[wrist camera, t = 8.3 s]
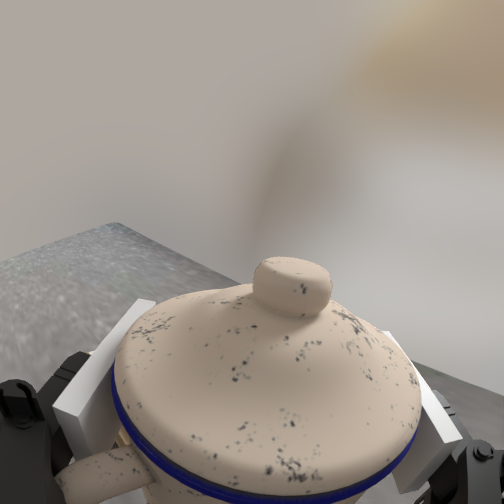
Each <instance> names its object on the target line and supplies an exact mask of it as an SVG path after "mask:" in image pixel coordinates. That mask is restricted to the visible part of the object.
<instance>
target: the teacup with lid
mask: <svg viewBox="0 0 504 504" xmlns="http://www.w3.org/2000/svg"><path fill="white" fill-rule="evenodd" d="M332 289H333V283H332V279H331V277H330V275H329V273H328V272H327V271H326V270H325V269H324V268H322V267H321V266H319V265H317V264H314V263H312V262H309V261H305V260H302V259H297V258H290V257H272V258H268V259H266V260H264V261H263V262H262V263H260V264H259V265H258V267H257V268H256V270H255V273H254V279H253V283H252V284H244V285H238V286H234V287H230V288H226V289H215V290H205V291H199V292H194V293H189V294H185V295H181V296H178V297H175V298H172V299H169V300H167V301H164V302H162V303H160V304H158V305H156V306H154V307H152V308H151V309H149V310H148V311H146V312H145V313H144V314H143V315H141V316H140V317H139V318H138V319H137V320H136V321H135V322H134V323H133V324H132V325H131V326H130V328H129V329H128V331H127V332H126V334H125V335H124V337H123V338H122V340H121V342H120V344H119V347H118V350H117V353H116V356H115V359H114V363H113V366H112V373H111V391H112V397H113V401H114V405H115V408H116V411H117V414H118V416H119V419H120V421H121V423H122V424H123V426H124V428H125V430H126V432H127V433H128V435H129V438H130V443H131V444H129V445H126V446H122V447H119V448H115V449H112V450H108V451H105V452H101V453H98V454H95V455H92V456H89V457H86V458H83V459H81V460H78V461H76V462H74V463H72V464H70V465H69V466H67V467H66V468H64V469H63V470H61V471H60V472H59V473H58V474H57V475H56V476H55V477H54V479H55V481H56V483H57V484H58V486H59V487H60V488H61V490H62V491H63V493H64V497H65V501H66V504H98V503H100V502H103V501H105V500H107V499H110V498H112V497H115V496H118V495H121V494H123V493H126V492H129V491H132V490H135V489H138V488H141V487H142V489H143V492H144V496H145V499H146V502H147V504H354V503H355V502H356V501H357V500H358V499H359V498H360V497H361V496H362V495H363V493H364V492H365V491H366V490H367V489H368V488H370V487H372V486H373V485H375V484H377V483H378V482H379V481H381V480H382V479H383V478H385V477H386V476H387V475H388V474H389V473H391V472H392V471H393V469H394V468H395V467H396V466H397V465H398V464H399V463H400V462H401V461H402V459H403V458H404V457H405V455H406V454H407V452H408V451H409V449H410V447H411V445H412V443H413V441H414V439H415V436H416V433H417V430H418V425H419V420H420V415H421V408H422V399H421V389H420V384H419V380H418V377H417V374H416V372H415V370H414V368H413V366H412V364H411V362H410V361H409V359H408V358H407V356H406V355H405V354H404V352H403V351H402V350H401V349H400V348H399V347H398V346H397V345H396V343H394V342H393V341H392V340H391V339H390V338H389V337H388V336H387V335H385V334H384V333H383V332H381V331H380V330H378V329H377V328H375V327H374V326H372V325H371V324H369V323H368V322H366V321H364V320H362V319H360V318H359V317H356V316H354V315H353V314H351V313H350V312H349V311H348V310H346V309H345V308H344V307H343V306H341V305H340V304H338V303H336V302H335V301H333V300H331V299H330V297H331V293H332Z"/></svg>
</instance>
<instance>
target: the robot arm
mask: <svg viewBox="0 0 504 504" xmlns="http://www.w3.org/2000/svg"><path fill="white" fill-rule="evenodd" d="M154 306H156V302H154V301H149V300H143V299H138V300H137V301H136V302H135V303H134V304H133V306H132V307H131V308H130V309H129V310H128V311H127V313H126V314H125V315H124V316H123V317H122V318H121V320H120V321H119V322H118V323H117V324H116V326H115V327H114V328H113V329H112V330H111V332H110V333H109V334H108V335H107V337H106V338H105V339H104V340H103V341H102V343H101V344H100V345H99V346H98V348H97V349H96V350H95V351H94V352H93V354H92V355H90V354H87V353H84V352H81V351H79V352H77V353H76V354H74V355H72V356H70V357H68V358H67V359H66V360H65V361H64V363H63V364H62V365H61V366H60V369H59V368H58V369H57V371H56V372H55V373H54V376H51V378H50V379H49V380H48V381H47V382H46V383H45V385H44V386H43V387H42V388H41V389H40V391H39V392H38V393H36V391H35V389H34V388H33V386H32V385H31V384H29V383H28V382H26V381H23V380H19V379H14V380H8V381H5V382H2V383H1V384H0V504H66V501H65V497H64V493H63V491H62V490H61V488H60V487H59V486H58V484H57V483H56V481H55V479H54V477H55V476H56V475H57V474H58V473H59V472H60V471H61V470H63V469H64V468H66V467H67V466H69V465H68V464H69V462H70V460H71V458H72V457H74V459H75V461H78V460H81V459H83V458H86V457H89V456H92V455H95V454H98V453H101V452H105V451H108V450H111V449H112V446H113V444H114V442H115V440H116V438H117V436H118V433H119V431H120V429H121V427H122V425H123V424H122V423H121V421H120V419H119V416H118V414H117V411H116V408H115V405H114V401H113V397H112V391H111V373H112V366H113V363H114V359H115V356H116V353H117V350H118V347H119V344H120V342H121V340H122V338H123V337H124V335H125V334H126V332H127V331H128V329H129V328H130V326H131V325H132V324H133V323H134V322H135V321H136V320H137V319H138V318H139V317H140V316H141V315H143V314H144V313H145V312H146V311H148V310H149V309H151V308H152V307H154ZM381 332H383V333H384V334H385V335H387V336H388V337H389V338H390V339H391V340H392V341H393V342H394V343H396V345H397V346H398V347H399V348H400V349H401V347H400V346H399V344H398V343H397V342H396V340H395V339H394V338H393V336H392V335H391V334H390V332H389V331H381ZM401 350H402V349H401ZM402 351H403V350H402ZM403 352H404V351H403ZM404 354H405V353H404ZM405 355H406V354H405ZM406 356H407V355H406ZM407 358H408V357H407ZM408 359H409V358H408ZM409 361H410V359H409ZM410 362H411V361H410ZM411 364H412V362H411ZM412 366H413V368H414V370H415V372H416V374H417V377H418V380H419V384H420V389H421V399H422V408H421V415H420V420H419V425H418V430H417V433H416V436H415V439H414V441H413V443H412V445H411V447H410V449H409V451H408V452H407V454H406V455H405V457H404V458H403V459H402V461H401V462H400V463H399V464H398V465H397V466H396V467H395V468H394V469H393V471H392V474H393V477H394V479H395V482H396V485H397V487H398V490H399V493H400V494H404V493H408V492H412V491H416V490H419V489H420V488H421V486H422V485H423V484H424V483H425V482H426V481H427V480H428V482H429V484H430V486H431V487H430V488H429V489H428V490H427V491H425V492H424V493H423V494H422V495H421V496H420V497H419V498H418V499H417V500H416V501H415V503H414V504H419V503H420V502H422V501H423V500H424V502H423V503H422V504H504V497H503V496H502V493H503V492H504V450H494V448H493V447H492V446H491V445H490V444H489V443H487V442H486V441H483V440H473V439H472V438H471V436H470V435H469V433H468V432H467V430H466V429H465V427H464V426H463V424H462V423H461V421H460V420H459V418H458V417H457V415H455V412H454V411H453V409H452V408H450V405H449V403H448V402H447V401H446V399H445V398H444V397H443V396H442V395H441V394H439V393H438V392H437V391H436V390H431V389H430V388H429V386H428V385H427V383H426V382H425V381H424V379H423V378H422V376H421V375H420V373H419V372H418V371H417V369H416V368H415V366H414V365H413V364H412Z"/></svg>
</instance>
